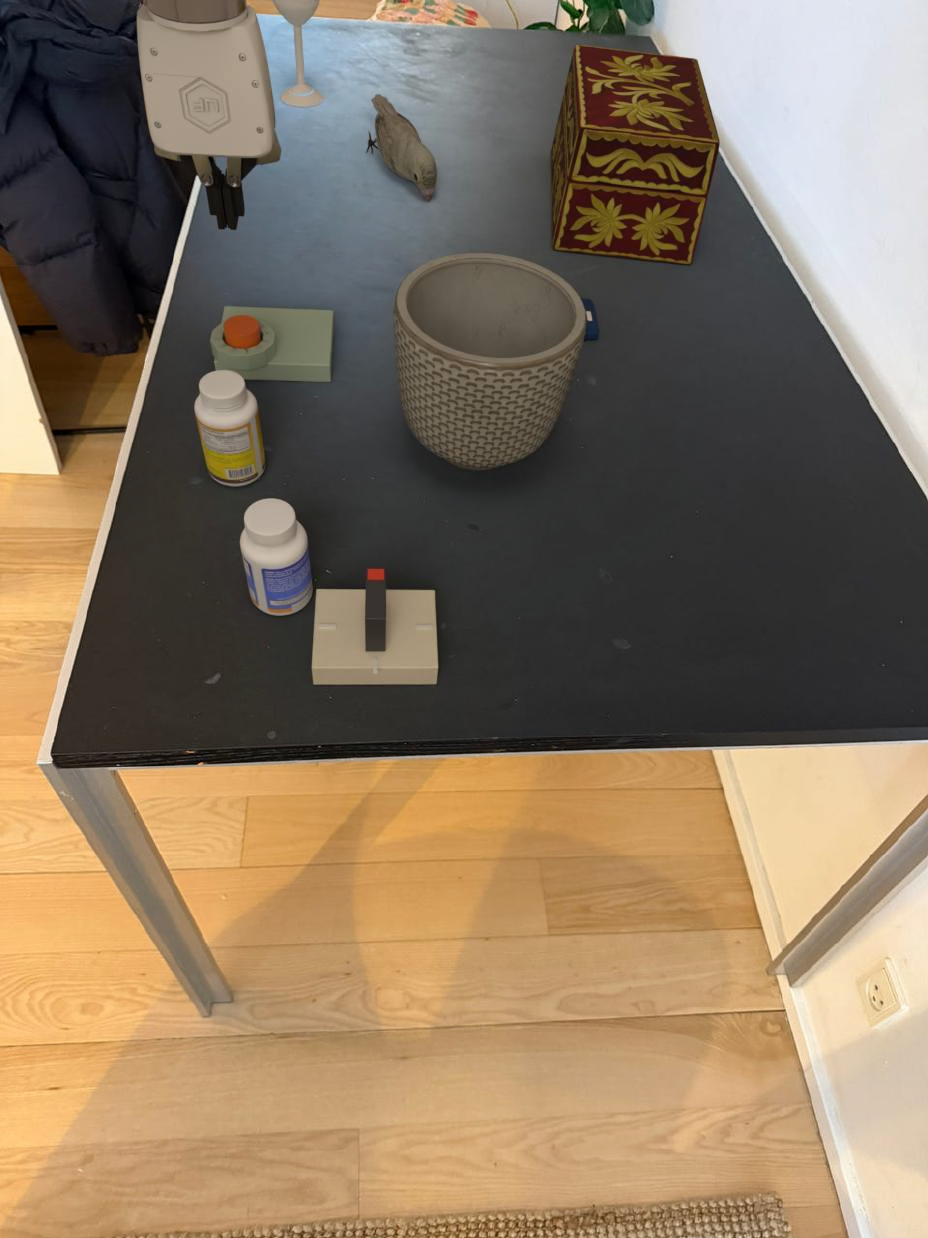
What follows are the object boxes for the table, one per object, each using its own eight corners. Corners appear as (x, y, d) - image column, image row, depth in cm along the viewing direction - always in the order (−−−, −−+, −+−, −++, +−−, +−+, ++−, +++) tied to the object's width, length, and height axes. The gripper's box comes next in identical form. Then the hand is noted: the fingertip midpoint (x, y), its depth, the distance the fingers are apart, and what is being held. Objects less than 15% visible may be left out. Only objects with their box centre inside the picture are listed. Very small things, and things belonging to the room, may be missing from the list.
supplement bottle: (233, 442, 86) (218, 355, 78) (278, 464, 85) (267, 379, 77) (195, 473, 83) (175, 387, 75) (240, 497, 82) (225, 412, 73)
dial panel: (312, 691, 69) (310, 673, 67) (318, 601, 75) (316, 581, 73) (436, 691, 70) (438, 673, 68) (433, 602, 76) (434, 582, 74)
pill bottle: (324, 583, 76) (318, 505, 68) (292, 627, 73) (282, 550, 65) (271, 561, 77) (260, 482, 70) (237, 603, 74) (221, 525, 66)
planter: (357, 424, 89) (355, 283, 76) (488, 370, 96) (505, 233, 84) (458, 527, 82) (474, 390, 69) (592, 460, 89) (628, 324, 76)
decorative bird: (411, 206, 117) (413, 149, 111) (360, 152, 125) (359, 96, 119) (446, 199, 118) (450, 142, 113) (394, 146, 126) (394, 91, 121)
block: (213, 386, 91) (207, 354, 88) (224, 322, 98) (219, 290, 94) (330, 389, 92) (328, 358, 89) (334, 326, 99) (332, 295, 96)
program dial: (385, 651, 69) (386, 617, 66) (365, 651, 69) (364, 616, 65) (385, 602, 72) (386, 566, 69) (366, 602, 72) (365, 566, 68)
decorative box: (692, 266, 113) (729, 147, 101) (551, 250, 112) (572, 129, 101) (672, 166, 130) (703, 54, 118) (550, 152, 129) (568, 38, 117)
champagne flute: (332, 99, 134) (326, -96, 115) (300, 110, 131) (287, -88, 112) (303, 83, 136) (291, -110, 117) (270, 95, 133) (253, -102, 114)
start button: (223, 349, 89) (221, 334, 88) (227, 328, 91) (225, 313, 90) (259, 350, 89) (257, 336, 88) (262, 329, 92) (260, 315, 90)
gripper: (83, 2, 63) (139, 240, 78) (291, 16, 64) (308, 247, 79) (102, -35, 67) (153, 197, 82) (297, -21, 69) (312, 204, 83)
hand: (229, 221), depth 80 cm, fingers closed
